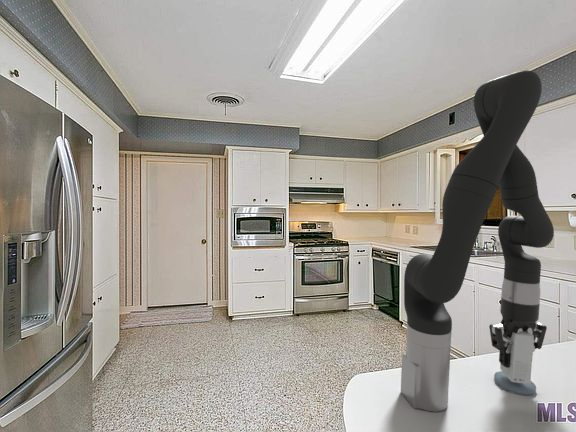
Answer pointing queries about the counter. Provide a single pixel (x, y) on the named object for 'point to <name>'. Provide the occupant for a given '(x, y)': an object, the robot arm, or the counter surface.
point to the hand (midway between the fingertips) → (515, 364)
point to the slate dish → (514, 385)
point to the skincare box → (520, 358)
